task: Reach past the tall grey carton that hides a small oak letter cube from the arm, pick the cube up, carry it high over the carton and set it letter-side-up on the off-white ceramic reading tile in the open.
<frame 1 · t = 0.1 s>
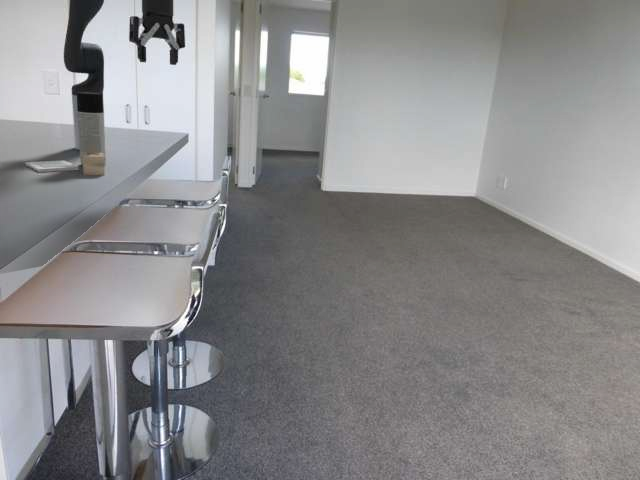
hand: (158, 63, 129), 29 cm above the table, fingers open, 8 cm apart
letter cube: (94, 173, 134), on the table
tall grey carton: (93, 165, 143), on the table
reading tile: (52, 167, 136), on the table
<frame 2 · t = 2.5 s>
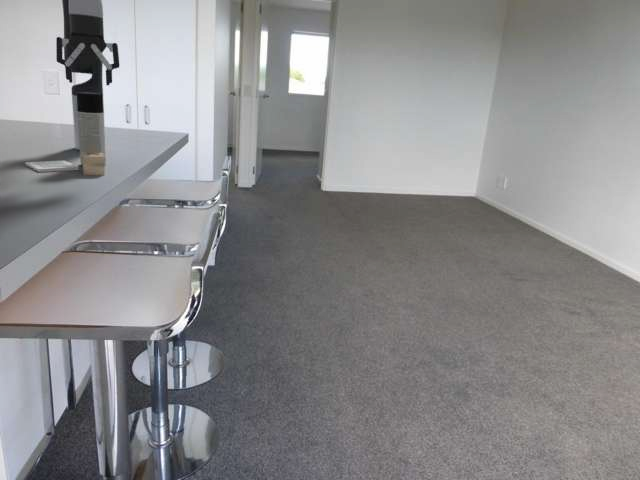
hand: (89, 83, 127), 23 cm above the table, fingers open, 8 cm apart
nothing on the table moved.
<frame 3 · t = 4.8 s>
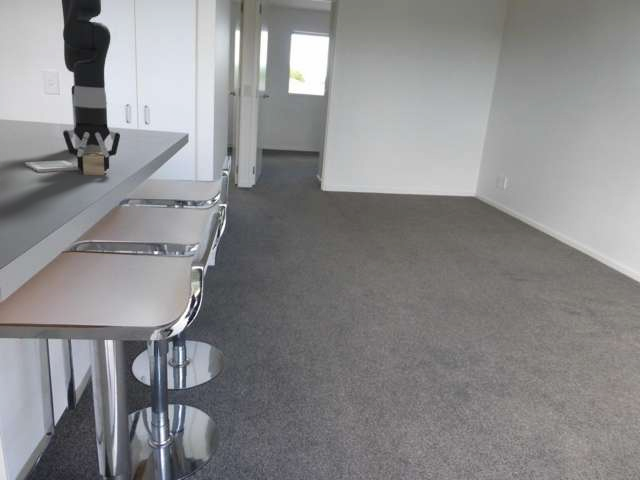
hand: (94, 170, 134), 1 cm above the table, fingers closed on letter cube, 5 cm apart
letter cube: (94, 172, 134), on the table, touching gripper
everything else where it was.
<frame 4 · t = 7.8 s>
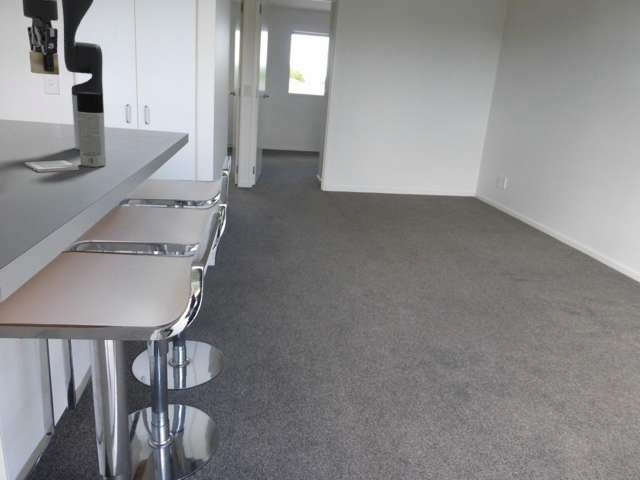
hand: (45, 70, 128), 25 cm above the table, fingers closed on letter cube, 5 cm apart
letter cube: (45, 73, 128), point 24 cm above the table, touching gripper
everything else where it was.
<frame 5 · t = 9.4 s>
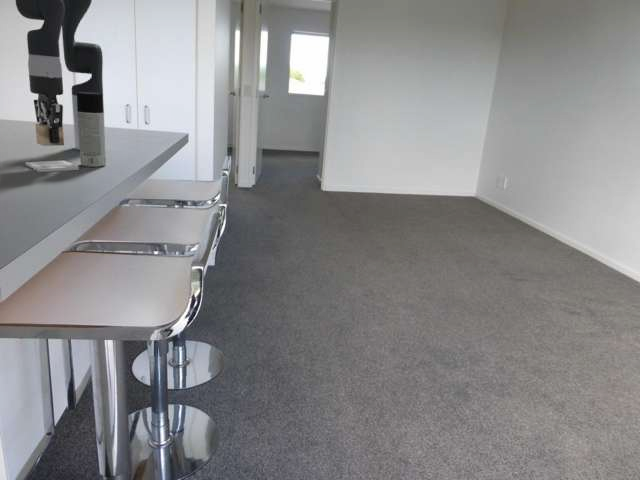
hand: (50, 141, 133), 7 cm above the table, fingers closed on letter cube, 5 cm apart
letter cube: (50, 144, 133), point 6 cm above the table, touching gripper
everything else where it was.
when the fingers open (2 cm above the table, at t = 10.7 s): letter cube stays where it is, resting on reading tile.
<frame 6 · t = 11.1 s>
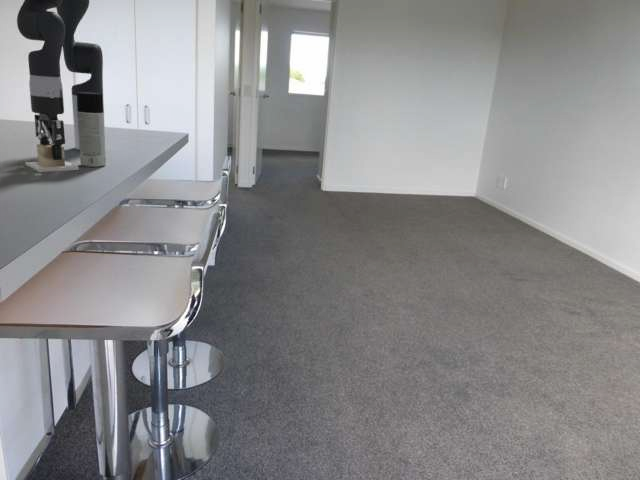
hand: (51, 156, 135), 3 cm above the table, fingers open, 8 cm apart
letter cube: (51, 164, 135), point 1 cm above the table, touching reading tile
everything else where it was.
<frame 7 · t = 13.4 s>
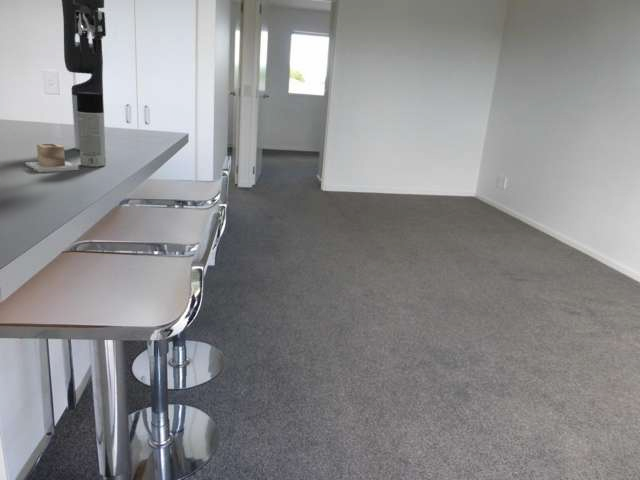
hand: (91, 52, 136), 30 cm above the table, fingers open, 8 cm apart
nothing on the table moved.
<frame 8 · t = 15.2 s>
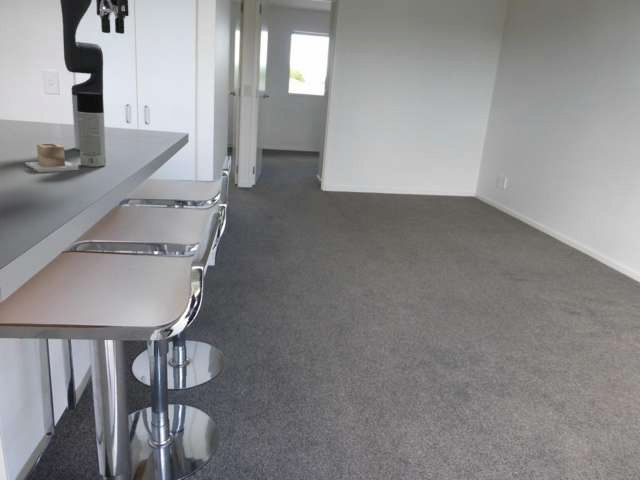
hand: (112, 33, 139), 36 cm above the table, fingers open, 8 cm apart
nothing on the table moved.
at the end: letter cube inside the target area on the reading tile (0.1 cm from its centre), point 0.9 cm above the reading tile's base; letter cube tilted 0°; the gripper is holding nothing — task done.
